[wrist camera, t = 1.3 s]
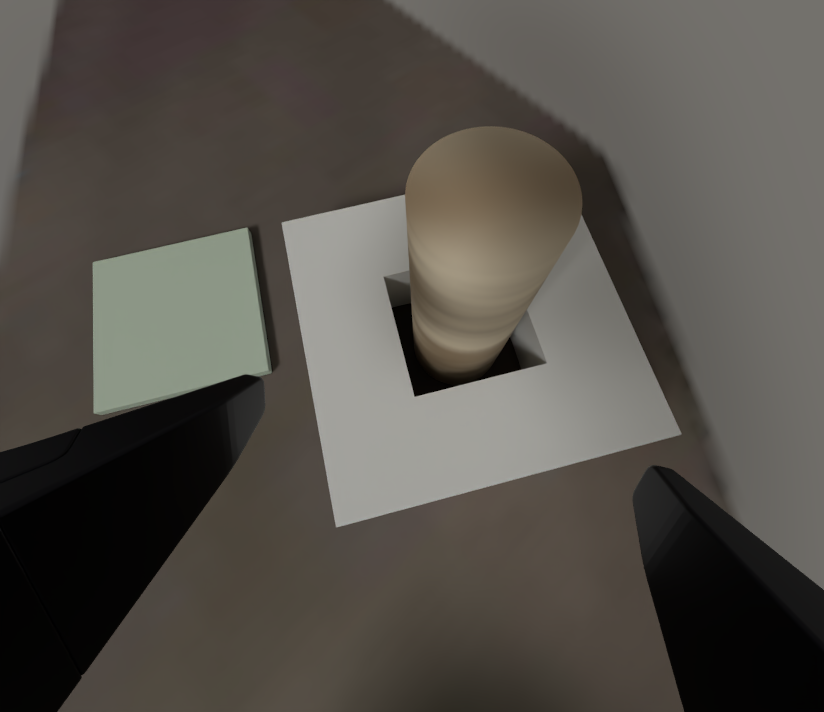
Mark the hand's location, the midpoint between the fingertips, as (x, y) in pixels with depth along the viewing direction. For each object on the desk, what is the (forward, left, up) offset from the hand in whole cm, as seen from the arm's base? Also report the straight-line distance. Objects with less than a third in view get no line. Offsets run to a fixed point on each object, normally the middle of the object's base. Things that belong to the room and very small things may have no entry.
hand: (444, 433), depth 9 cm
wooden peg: (+6, -3, -13) cm, 15 cm away
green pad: (+12, +13, -13) cm, 22 cm away
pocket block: (+6, -3, -13) cm, 15 cm away
